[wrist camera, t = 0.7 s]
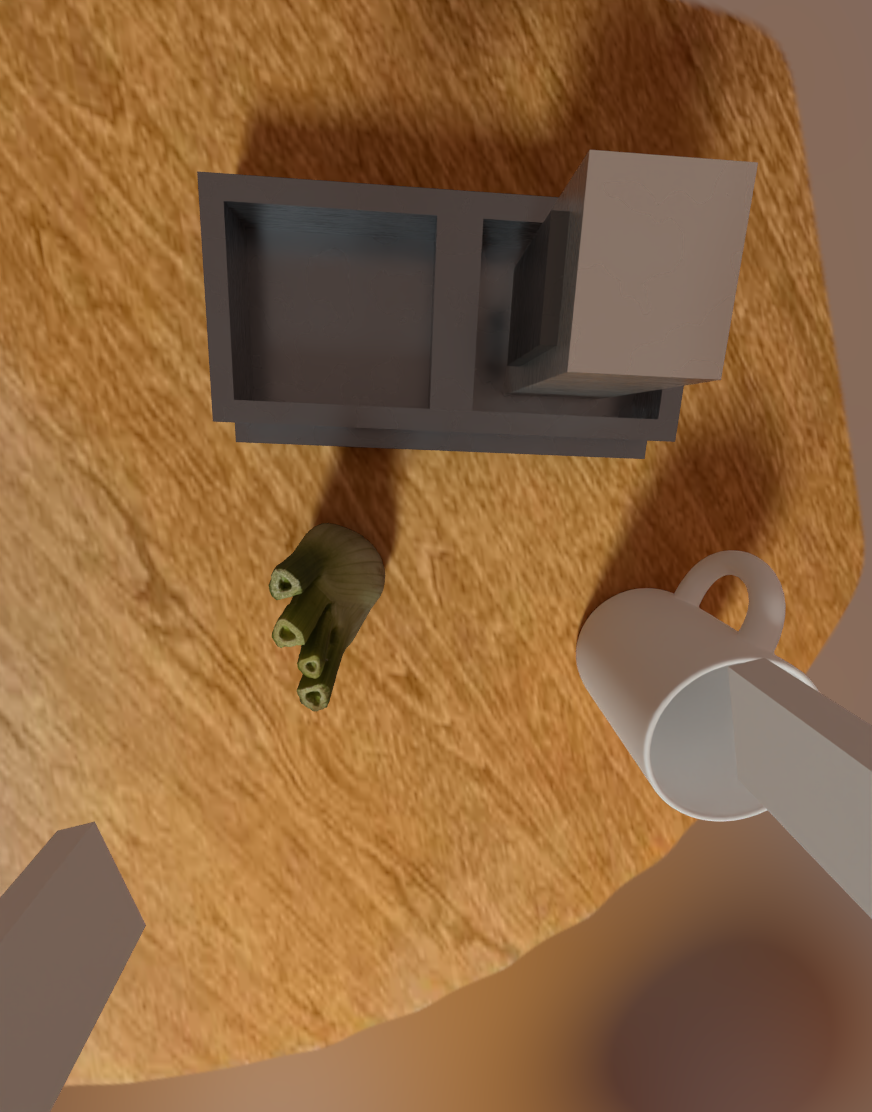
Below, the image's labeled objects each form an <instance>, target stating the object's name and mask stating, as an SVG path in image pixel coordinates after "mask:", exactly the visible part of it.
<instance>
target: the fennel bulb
mask: <svg viewBox="0 0 872 1112" xmlns="http://www.w3.org/2000/svg"><path fill="white" fill-rule="evenodd" d="M271 577H272V579H271V581H270V584H269V590H270V593H271V595H272V597H274V598H275V599H276V600H278V599H279V600H280V599H283V598H287V597H292V596H293V598H292V600H291V602H290V604H289V605H287V606H286V608H285V610H284V612H283V613H282V615H281V616H280V617H279V619H278V621H277V623H276V625H275V627H274V630H273V632H272V638H273V640H274V641H275V643H276V645H277V646H278V647H280V648H282V647H284V646H288V647H291V646H295V645H301V651H300V654H299V659H298V662H297V665H298V669H299V670H300V671H301V672H302V674H303V675H302V678H301V681H300V683H299V686H298V688H297V693H298V695H299V697H300V702H301V704H304V705H305V706H306V707H308V708H310V709H311V710H312V711H318V710H321V709H324V708H326V707H327V705H328V703H329V701H330V697H331V693H332V690H333V686H334V683H335V679H336V675H337V671H338V669H339V665H340V662H341V658H342V656H343V653H344V651H345V649H346V648H347V647H348V646H349V645H350V644H351V642H352V641H353V639H354V638H355V636H356V634H357V633H358V631H359V629H360V627H361V625H362V624H363V622H364V620H365V619H366V617H367V615H368V613H369V612H370V610H371V608H372V607H373V606H374V604H375V603H376V602H377V600H378V599H379V597H380V596H381V593H382V591H383V588H384V583H385V569H384V566H383V563H382V560H381V557H380V555H379V553H378V552H377V550H376V549H375V547H374V546H373V545H372V544H371V543H370V542H369V541H368V540H367V539H365V538H364V537H363V536H361V535H360V534H358V533H356V532H355V531H352V530H350V529H348V528H345V527H342V526H340V525H336V524H329V523H322V524H320V525H318V526H315V527H314V528H312V529H311V530H310V531H309V532H308V533H307V534H306V535H305V536H304V538H303V539H302V541H301V542H300V543H299V545H298V546H297V548H296V549H295V551H294V552H293V554H291V555H290V556H289V557H288V558H287V559H285V560H284V561H283V562H282V563H280V564H279V565H277V566H276V568H275V569H274V571H273V573H272V575H271Z"/></svg>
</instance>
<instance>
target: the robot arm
mask: <svg viewBox="0 0 872 1112" xmlns="http://www.w3.org/2000/svg"><path fill="white" fill-rule="evenodd" d="M728 674H729V685H730V696H731V708H732V719H733V730H734V742H735V753H736V764H737V776H738V780H739V781H740V782H741V783H742V784H743V785H744V786H745V787H746V788H747V789H748V790H749V791H750V792H751V793H752V795H753V796H754V797H755V798H756V799H757V800H758V801H759V802H760V803H761V804H762V805H763V806H764V807H765V808H766V809H767V810H768V811H769V812H770V813H771V814H772V815H773V816H774V817H775V818H776V819H777V821H778V822H779V823H780V824H781V825H782V826H784V828H785V829H786V830H787V831H788V832H789V833H790V834H791V835H792V836H793V837H794V838H795V839H796V840H797V841H798V842H799V843H800V844H801V846H803V848H804V849H805V850H806V851H807V852H808V853H809V854H810V855H811V856H812V857H813V858H814V859H815V860H816V861H817V862H818V863H819V864H820V865H821V866H822V867H823V869H824V870H825V871H826V872H827V873H828V874H829V875H830V876H831V877H832V878H833V879H834V880H835V881H836V882H837V883H838V884H839V885H840V886H841V887H842V888H843V889H844V890H845V891H846V892H847V893H848V895H850V897H851V898H852V899H853V900H854V901H855V902H856V903H857V904H858V905H859V906H860V907H861V908H862V909H863V910H864V911H865V912H866V913H867V914H868V915H869V916H870V917H871V919H872V725H870V724H869V723H867V722H865V721H864V720H862V719H861V718H859V717H858V716H856V715H855V714H853V713H851V712H850V711H848V710H846V709H845V708H843V707H842V706H840V705H839V704H837V703H836V702H834V701H832V700H831V699H829V698H827V697H826V696H824V695H823V694H821V693H820V692H818V691H817V690H815V689H813V688H812V687H810V686H809V685H807V684H805V683H804V682H802V681H801V680H799V679H798V678H796V677H794V676H793V675H791V674H790V673H788V672H786V671H785V670H783V669H782V668H780V667H779V666H777V665H775V664H774V663H772V662H771V661H769V660H767V659H766V658H761V659H757V660H753V661H748V662H744V663H740V664H736V665H732V666H728ZM145 926H146V925H145V923H144V921H143V919H142V917H141V915H140V912H139V910H138V908H137V906H136V904H135V902H134V900H133V898H132V896H131V894H130V892H129V890H128V888H127V886H126V884H125V882H124V880H123V878H122V876H121V874H120V872H119V870H118V868H117V866H116V864H115V862H114V860H113V858H112V856H111V854H110V852H109V850H108V848H107V846H106V844H105V842H104V840H103V838H102V836H101V834H100V832H99V830H98V828H97V825H96V823H95V822H92V823H88V824H83V825H79V826H75V827H71V828H67V829H63V830H59V831H57V832H56V833H55V834H54V835H53V837H52V838H51V839H50V840H49V841H48V842H47V844H46V845H45V846H44V847H43V848H42V849H41V851H40V852H39V853H38V854H37V855H36V856H35V858H34V859H33V860H32V861H31V862H30V863H29V865H28V866H27V867H26V868H25V869H24V871H23V872H22V873H21V874H20V875H19V876H18V878H17V879H16V880H15V881H14V882H13V883H12V885H11V886H10V887H9V888H8V889H7V890H6V892H5V893H4V894H3V895H2V896H1V897H0V1112H50V1111H51V1109H52V1107H53V1105H54V1103H55V1101H56V1100H57V1098H58V1096H59V1094H60V1092H61V1090H62V1088H63V1086H64V1084H65V1082H66V1080H67V1078H68V1076H69V1074H70V1072H71V1070H72V1068H73V1066H74V1064H75V1062H76V1061H77V1059H78V1057H79V1055H80V1053H81V1051H82V1049H83V1047H84V1045H85V1043H86V1041H87V1039H88V1037H89V1035H90V1033H91V1031H92V1029H93V1027H94V1025H95V1024H96V1022H97V1020H98V1018H99V1016H100V1014H101V1012H102V1010H103V1008H104V1006H105V1004H106V1002H107V1000H108V998H109V996H110V994H111V992H112V990H113V988H114V986H115V985H116V983H117V981H118V979H119V977H120V975H121V973H122V971H123V969H124V967H125V965H126V963H127V961H128V959H129V957H130V955H131V953H132V951H133V949H134V948H135V946H136V944H137V942H138V940H139V938H140V936H141V934H142V932H143V930H144V928H145Z"/></svg>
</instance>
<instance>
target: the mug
mask: <svg viewBox="0 0 872 1112" xmlns="http://www.w3.org/2000/svg"><path fill="white" fill-rule="evenodd" d="M725 575H734V576H737V577H739V578H740V579H741V580H742V581H743V582H744V583H745V585H746V587H747V590H748V594H749V605H748V611H747V615H746V617H745V620H744V622H743V624H742V626H741V628H740V630H739V632H738V631H736V630H735V629H733V628H731V627H730V626H728V625H727V624H725V623H723V622H722V621H720V620H719V619H717V618H715V617H714V616H712V615H710V614H709V613H707V612H705V611H704V610H702V609H700V608H699V605H700V603H701V601H702V599H703V597H704V595H705V593H706V592H707V590H708V589H709V588H710V586H711V585H712V584H713V583H714V582H715V581H716V580H718V579H719V578H721V577H723V576H725ZM784 619H785V598H784V593H783V589H782V586H781V584H780V581H779V580H778V578H777V576H776V574H775V572H774V571H773V570H772V569H771V568H770V566H769V565H768V564H766V563H765V562H764V561H762V560H761V559H760V558H758V557H757V556H754V555H752V554H750V553H747V552H743V551H736V550H727V551H721V552H717V553H714V554H712V555H709V556H707V557H705V558H704V559H702V560H701V561H699V562H698V563H697V564H696V565H695V566H694V567H693V568H692V569H691V570H690V571H689V572H688V573H687V575H686V576H685V577H684V579H683V580H682V581H681V583H680V585H679V586H678V588H677V590H676V591H675V593H671V592H668V591H665V590H661V589H655V588H639V589H633V590H628V591H625V592H622V593H619V594H617V595H615V596H613V597H611V598H609V599H608V600H606V601H605V602H603V603H602V604H601V605H600V606H598V607H597V608H596V609H595V610H594V611H593V612H592V614H591V615H590V616H589V618H588V619H587V620H586V622H585V624H584V625H583V627H582V630H581V632H580V634H579V638H578V641H577V647H576V662H577V668H578V671H579V674H580V677H581V679H582V681H583V683H584V685H585V687H586V689H587V690H588V692H589V693H590V695H591V696H592V698H593V699H594V701H595V702H596V704H597V705H598V707H599V708H600V710H601V711H602V713H603V714H604V716H605V717H606V719H607V720H608V722H609V723H610V725H611V726H612V728H613V729H614V731H615V732H616V733H617V735H618V736H619V738H620V739H621V741H622V742H623V744H624V745H625V747H626V748H627V750H628V751H629V753H630V754H631V756H632V757H633V759H634V760H635V762H636V763H637V765H638V766H639V768H640V769H641V771H642V772H643V773H644V775H645V776H646V778H647V779H648V781H649V782H650V784H651V785H652V787H653V788H654V790H655V791H656V793H657V794H658V795H659V796H660V797H661V798H662V799H663V800H664V801H665V802H666V803H667V804H669V805H670V806H671V807H673V808H674V809H676V810H678V811H679V812H681V813H683V814H686V815H688V816H690V817H694V818H697V819H702V820H709V821H733V820H739V819H744V818H748V817H751V816H754V815H757V814H760V813H762V812H764V811H767V809H766V808H765V807H764V806H763V805H762V804H761V803H760V802H759V801H758V800H757V799H756V798H755V797H754V796H753V795H752V793H751V792H750V791H749V790H748V789H747V788H746V787H745V786H744V785H743V784H742V783H741V782H740V781H739V780H738V776H737V764H736V753H735V742H734V730H733V719H732V708H731V696H730V685H729V674H728V666H732V665H736V664H740V663H744V662H748V661H753V660H757V659H761V658H766V659H767V660H769V661H771V662H772V663H774V664H775V665H777V666H779V667H780V668H782V669H783V670H785V671H786V672H788V673H790V674H791V675H793V676H794V677H796V678H798V679H799V680H801V681H802V682H804V683H805V684H807V685H809V686H810V687H812V688H813V689H815V690H817V691H818V689H817V687H816V686H815V685H814V683H813V682H812V681H811V679H809V678H808V677H807V676H806V675H805V674H804V673H803V672H802V671H800V670H799V669H797V668H796V667H794V666H793V665H791V664H790V663H788V662H786V661H785V660H783V659H781V658H780V657H778V656H776V655H775V654H774V650H775V648H776V646H777V644H778V641H779V639H780V636H781V632H782V629H783V625H784ZM818 692H819V691H818Z"/></svg>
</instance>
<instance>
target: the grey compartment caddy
mask: <svg viewBox="0 0 872 1112" xmlns="http://www.w3.org/2000/svg"><path fill="white" fill-rule="evenodd" d="M757 165H758V163H756V162H743V161H730V160H717V159H704V158H691V157H678V156H665V155H652V154H639V153H626V152H613V151H600V150H589V151H588V153H587V155H586V156H585V158H584V159H583V161H582V162H581V164H580V166H579V167H578V169H577V170H576V172H575V173H574V175H573V176H572V178H571V180H570V181H569V183H568V184H567V186H566V187H565V189H564V191H563V192H562V194H561V195H560V197H545V196H531V195H517V194H503V193H489V192H475V191H461V190H447V189H433V188H419V187H405V186H391V185H377V184H363V183H349V182H335V181H321V180H307V179H293V178H279V177H265V176H251V175H237V174H223V173H209V172H197V173H198V189H199V205H200V221H201V237H202V253H203V269H204V285H205V301H206V317H207V333H208V349H209V365H210V381H211V397H212V413H213V421H216V422H235V432H236V442H250V443H274V444H298V445H322V446H346V447H370V448H394V449H418V450H442V451H466V452H490V453H514V454H538V455H562V456H586V457H610V458H634V459H644V458H645V451H646V444H647V440H649V441H672V442H675V439H676V432H677V426H678V419H679V413H680V406H681V400H682V393H683V387H684V386H685V385H691V384H697V383H703V382H710V381H716V380H721V376H722V370H723V364H724V358H725V353H726V347H727V341H728V335H729V329H730V323H731V317H732V312H733V306H734V300H735V294H736V288H737V282H738V276H739V270H740V265H741V259H742V253H743V247H744V241H745V235H746V229H747V224H748V218H749V212H750V206H751V200H752V194H753V188H754V183H755V177H756V171H757Z"/></svg>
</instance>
